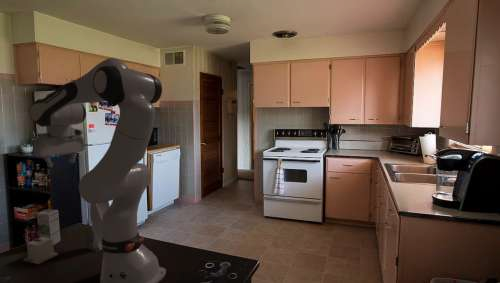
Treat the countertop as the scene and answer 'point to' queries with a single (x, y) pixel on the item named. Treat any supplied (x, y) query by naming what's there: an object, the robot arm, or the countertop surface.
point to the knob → (40, 248)
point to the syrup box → (49, 225)
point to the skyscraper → (96, 225)
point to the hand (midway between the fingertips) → (61, 164)
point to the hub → (40, 260)
